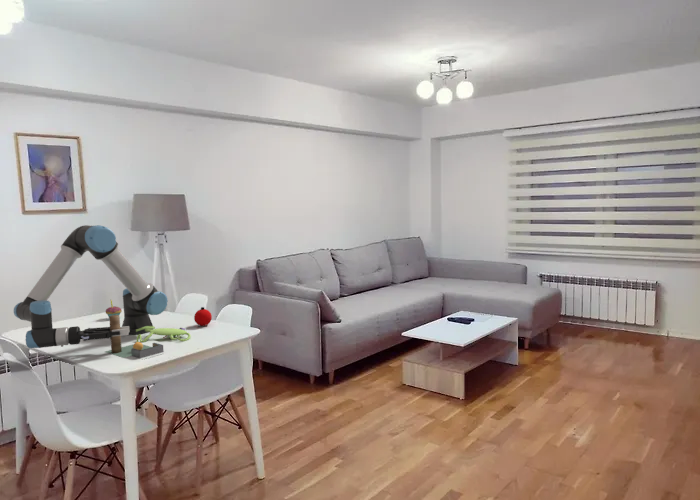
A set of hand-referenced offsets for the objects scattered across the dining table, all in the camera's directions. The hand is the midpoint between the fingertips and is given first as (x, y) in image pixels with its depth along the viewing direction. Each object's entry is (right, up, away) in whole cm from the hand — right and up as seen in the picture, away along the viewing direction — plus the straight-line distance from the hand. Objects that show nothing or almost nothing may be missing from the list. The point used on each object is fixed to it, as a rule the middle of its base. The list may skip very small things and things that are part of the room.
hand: (128, 330), depth 222 cm
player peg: (-5, -9, -1) cm, 10 cm away
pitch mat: (0, -10, +1) cm, 10 cm away
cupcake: (-39, -4, +69) cm, 80 cm away
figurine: (+6, -8, +24) cm, 26 cm away
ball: (+4, -7, 0) cm, 8 cm away
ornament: (+19, -5, +49) cm, 52 cm away
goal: (+10, -10, -4) cm, 15 cm away
